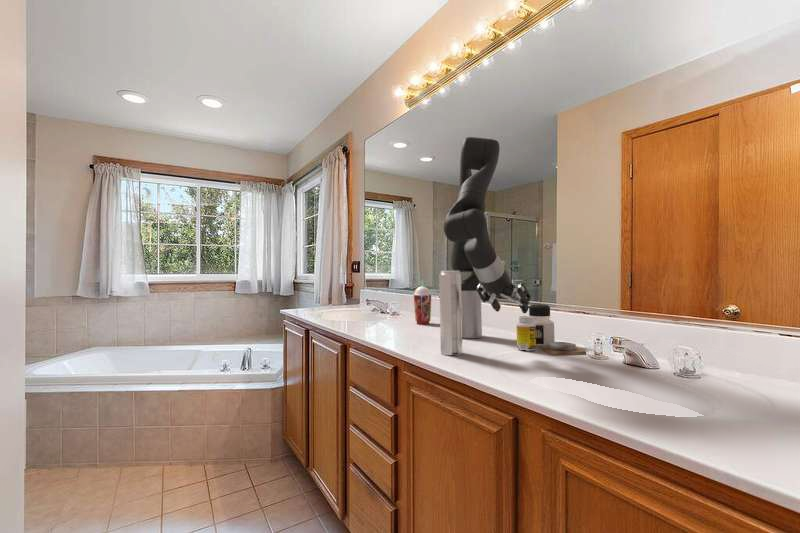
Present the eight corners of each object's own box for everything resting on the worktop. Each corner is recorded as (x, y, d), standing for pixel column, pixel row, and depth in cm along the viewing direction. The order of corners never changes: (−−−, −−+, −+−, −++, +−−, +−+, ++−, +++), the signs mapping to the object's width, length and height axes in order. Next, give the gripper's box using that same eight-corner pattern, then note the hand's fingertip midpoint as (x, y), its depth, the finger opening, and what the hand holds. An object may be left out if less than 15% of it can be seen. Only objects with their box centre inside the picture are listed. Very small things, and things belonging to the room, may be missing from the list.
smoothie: (432, 324, 176) (431, 280, 176) (414, 325, 176) (413, 280, 176) (431, 322, 184) (430, 279, 184) (413, 322, 185) (412, 280, 185)
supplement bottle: (531, 352, 116) (530, 318, 116) (514, 350, 120) (513, 317, 120) (538, 349, 120) (538, 316, 120) (521, 347, 124) (521, 315, 124)
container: (554, 346, 124) (553, 305, 124) (529, 346, 126) (528, 305, 126) (550, 342, 132) (549, 303, 132) (526, 341, 133) (525, 303, 133)
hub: (551, 355, 112) (551, 348, 112) (538, 348, 122) (538, 341, 122) (586, 354, 113) (585, 347, 113) (569, 347, 123) (569, 340, 123)
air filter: (464, 351, 119) (462, 270, 119) (460, 356, 113) (458, 270, 113) (443, 350, 122) (441, 270, 122) (438, 355, 115) (436, 270, 115)
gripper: (519, 261, 102) (539, 301, 110) (473, 262, 112) (494, 299, 120) (510, 282, 98) (531, 322, 106) (463, 281, 108) (485, 318, 116)
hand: (511, 310), depth 113 cm, fingers open, 8 cm apart
